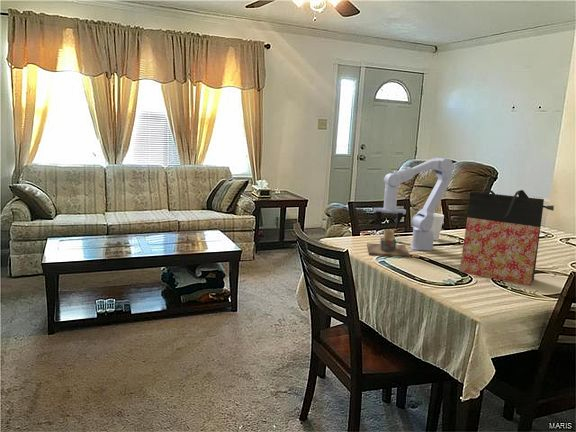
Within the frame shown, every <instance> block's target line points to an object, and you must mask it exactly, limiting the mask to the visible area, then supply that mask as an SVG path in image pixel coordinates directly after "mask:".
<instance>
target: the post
mask: <svg viewBox="0 0 576 432" xmlns="http://www.w3.org/2000/svg"><path fill="white" fill-rule="evenodd" d="M394 235H395V231H394V230H393V229H384V230H383V238H384V239H383V240H385V241H393V238H394Z"/></svg>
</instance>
